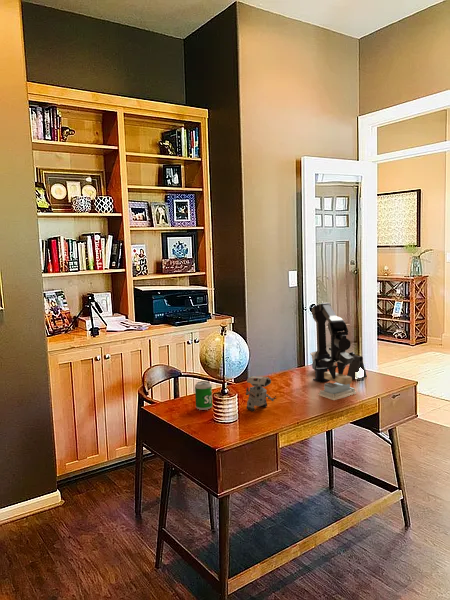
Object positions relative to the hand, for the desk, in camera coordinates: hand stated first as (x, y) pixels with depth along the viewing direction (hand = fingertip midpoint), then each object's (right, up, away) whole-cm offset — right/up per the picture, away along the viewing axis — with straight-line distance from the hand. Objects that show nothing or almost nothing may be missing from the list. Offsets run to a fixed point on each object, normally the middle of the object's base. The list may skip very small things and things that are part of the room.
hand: (337, 377), depth 235 cm
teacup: (+2, -3, +42) cm, 42 cm away
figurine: (-38, -12, -15) cm, 42 cm away
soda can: (-63, -12, -12) cm, 65 cm away
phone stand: (+17, -4, +28) cm, 33 cm away
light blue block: (0, -7, +1) cm, 7 cm away
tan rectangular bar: (0, -1, 0) cm, 1 cm away
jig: (0, -8, +1) cm, 8 cm away
